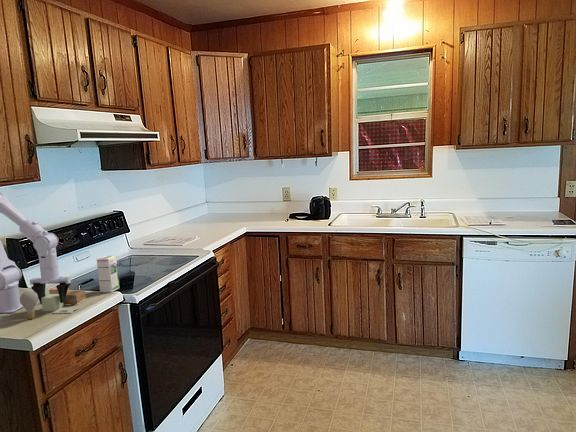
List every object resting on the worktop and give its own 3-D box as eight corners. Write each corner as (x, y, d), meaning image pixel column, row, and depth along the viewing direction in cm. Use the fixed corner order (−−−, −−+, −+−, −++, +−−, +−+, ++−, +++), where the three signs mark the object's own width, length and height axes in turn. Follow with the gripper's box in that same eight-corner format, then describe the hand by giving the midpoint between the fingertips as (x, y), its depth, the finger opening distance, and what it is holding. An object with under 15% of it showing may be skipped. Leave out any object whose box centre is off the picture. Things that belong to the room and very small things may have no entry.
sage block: (42, 311, 154) (41, 298, 153) (51, 306, 159) (49, 294, 158) (56, 311, 153) (54, 298, 153) (63, 306, 158) (62, 293, 158)
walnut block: (62, 305, 160) (61, 295, 160) (71, 300, 166) (70, 290, 165) (77, 305, 160) (76, 295, 159) (85, 300, 166) (84, 290, 165)
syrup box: (112, 292, 174) (109, 258, 172) (99, 292, 175) (96, 258, 173) (120, 288, 180) (117, 255, 178) (107, 288, 181) (104, 255, 179)
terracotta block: (50, 301, 165) (49, 289, 164) (57, 297, 170) (56, 285, 169) (62, 301, 164) (61, 289, 164) (69, 297, 169) (68, 285, 169)
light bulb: (18, 321, 144) (14, 293, 143) (30, 315, 149) (27, 288, 148) (32, 321, 143) (29, 293, 142) (44, 316, 148) (41, 288, 147)
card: (52, 313, 150) (52, 312, 150) (60, 309, 155) (60, 307, 155) (71, 313, 150) (71, 312, 150) (78, 308, 155) (78, 307, 155)
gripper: (22, 270, 150) (27, 306, 152) (61, 268, 150) (65, 305, 151) (35, 265, 157) (39, 300, 159) (72, 264, 157) (76, 299, 158)
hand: (53, 302), depth 156 cm, fingers open, 7 cm apart
